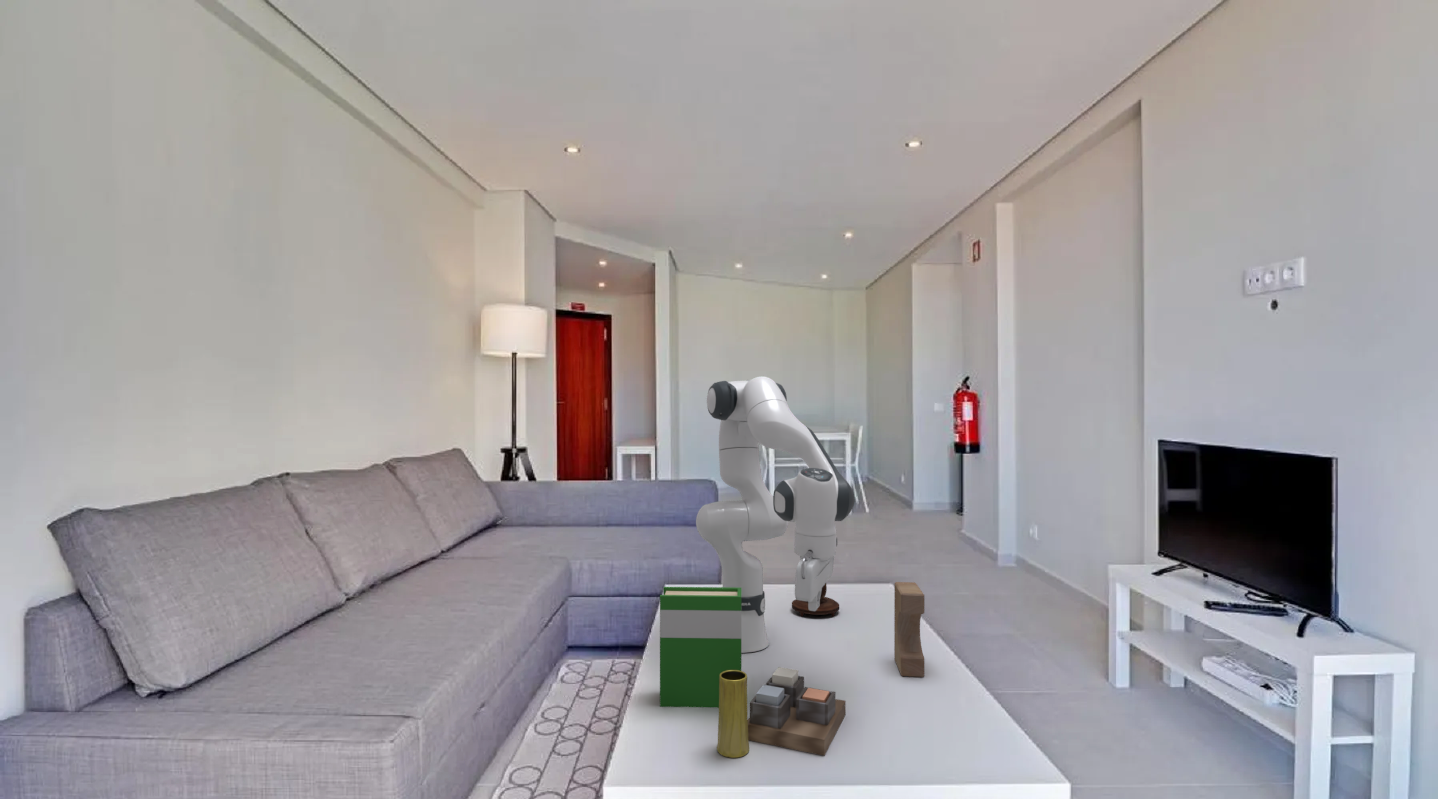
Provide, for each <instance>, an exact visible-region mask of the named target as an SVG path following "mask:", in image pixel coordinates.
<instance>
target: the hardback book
mask: <svg viewBox="0 0 1438 799" xmlns="http://www.w3.org/2000/svg"><path fill="white" fill-rule="evenodd" d="M662 592H663V593H662V594H660V595H659V707H661V708H663V707H664V708H713V709H717V708H718V709H719V676H720V673H722V672H723V671H727V670H739V671H742V653H741V588H737V587H723V586H721V587H719V586H718V587H717V586H714V587H713V586H712V587H711V586H708V587H707V586H663V591H662Z"/></svg>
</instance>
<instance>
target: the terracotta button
mask: <svg viewBox="0 0 1438 799" xmlns="http://www.w3.org/2000/svg"><path fill="white" fill-rule="evenodd" d="M812 688H813V687H809V688H808V689H807V690H806V692H805V693H804V695H803V696H802V699H805V700H811V701H816V702H822V703H826V702H827V700H828V698H829V691H830V690H826V691H824V690H825V689H821V690H818V689H819V688H815V689H812Z"/></svg>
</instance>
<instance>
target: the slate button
mask: <svg viewBox="0 0 1438 799" xmlns="http://www.w3.org/2000/svg"><path fill="white" fill-rule="evenodd" d="M755 696H756V702H757V703H762V704H768V705H773V706H780V704H781V703H782V702H783V700H784V688H779V687H774V686H768V685H766V684H763V685H762V686H761V687H760V688H759V689H758V691H757V692H756V694H755Z"/></svg>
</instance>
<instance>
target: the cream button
mask: <svg viewBox="0 0 1438 799" xmlns="http://www.w3.org/2000/svg"><path fill="white" fill-rule="evenodd" d="M798 676H799V670H798V669H792V668H786V667H781V666H778V668H776V669H775V671H774V672H773V673H772V674H771V677H772V683H775V684H781V685H787V686H793V687H794V685H795V684H796V683H797V681H798Z"/></svg>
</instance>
